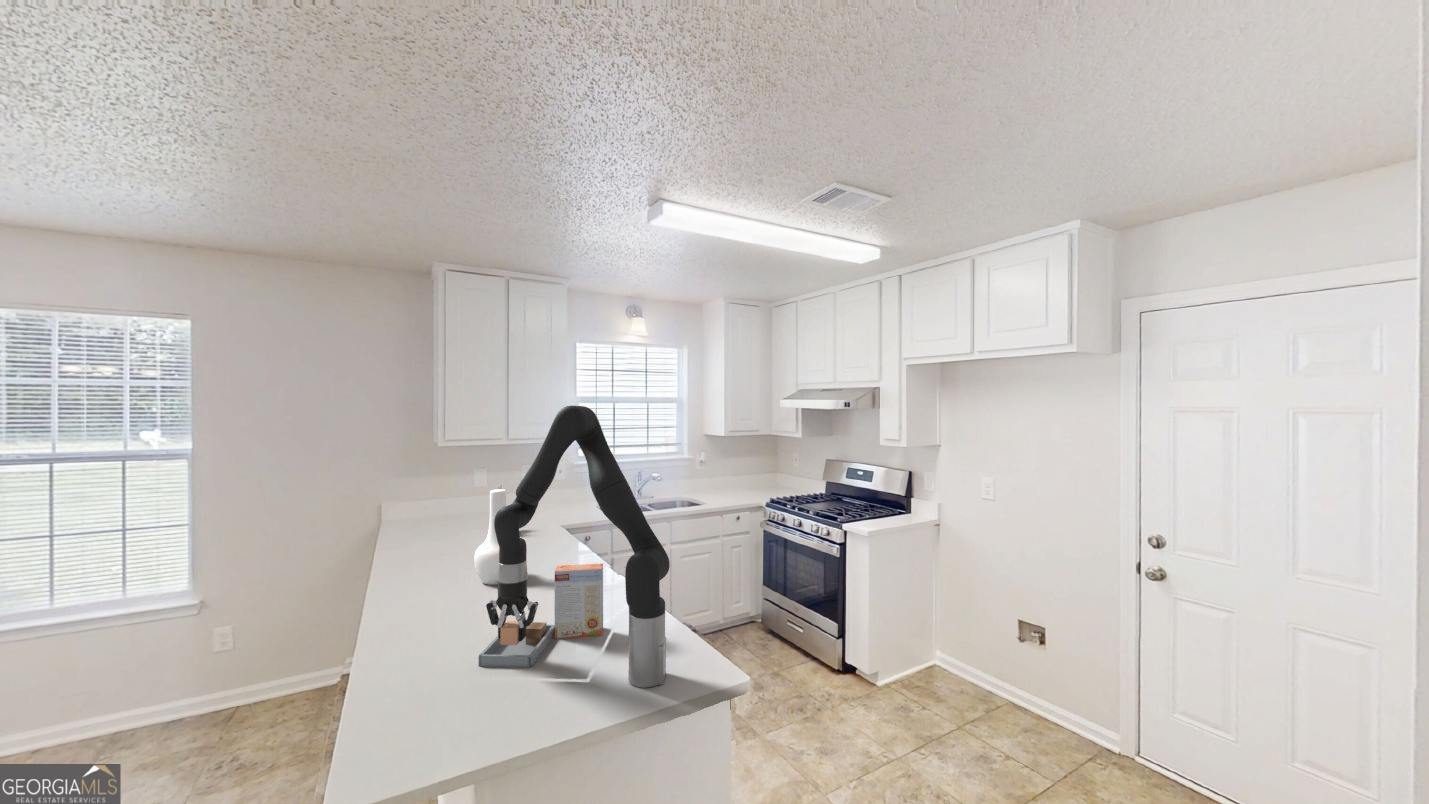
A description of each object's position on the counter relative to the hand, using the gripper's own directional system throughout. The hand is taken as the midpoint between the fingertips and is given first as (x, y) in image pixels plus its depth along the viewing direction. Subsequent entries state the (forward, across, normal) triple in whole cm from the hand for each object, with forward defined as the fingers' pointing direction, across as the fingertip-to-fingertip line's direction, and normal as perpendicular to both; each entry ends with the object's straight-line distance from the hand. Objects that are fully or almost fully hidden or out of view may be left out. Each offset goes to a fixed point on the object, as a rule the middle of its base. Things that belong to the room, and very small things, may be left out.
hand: (512, 639), depth 149 cm
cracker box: (+6, +14, +16) cm, 22 cm away
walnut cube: (+5, +3, +10) cm, 11 cm away
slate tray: (+6, 0, +5) cm, 8 cm away
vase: (+6, -31, +63) cm, 70 cm away
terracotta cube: (0, 0, 0) cm, 0 cm away
